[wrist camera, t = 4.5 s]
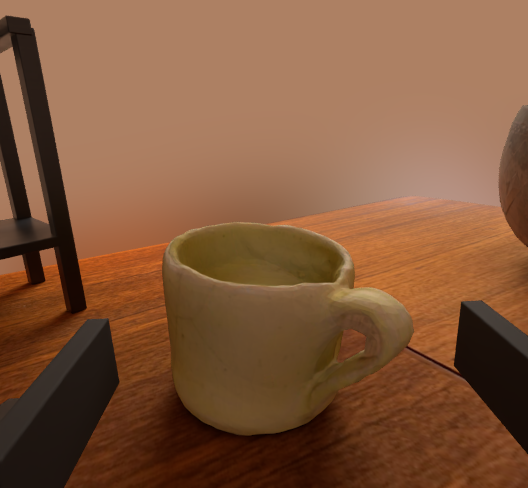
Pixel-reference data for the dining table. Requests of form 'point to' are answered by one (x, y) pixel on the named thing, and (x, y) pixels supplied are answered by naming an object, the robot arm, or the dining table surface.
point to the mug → (269, 324)
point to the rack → (4, 150)
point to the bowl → (516, 176)
